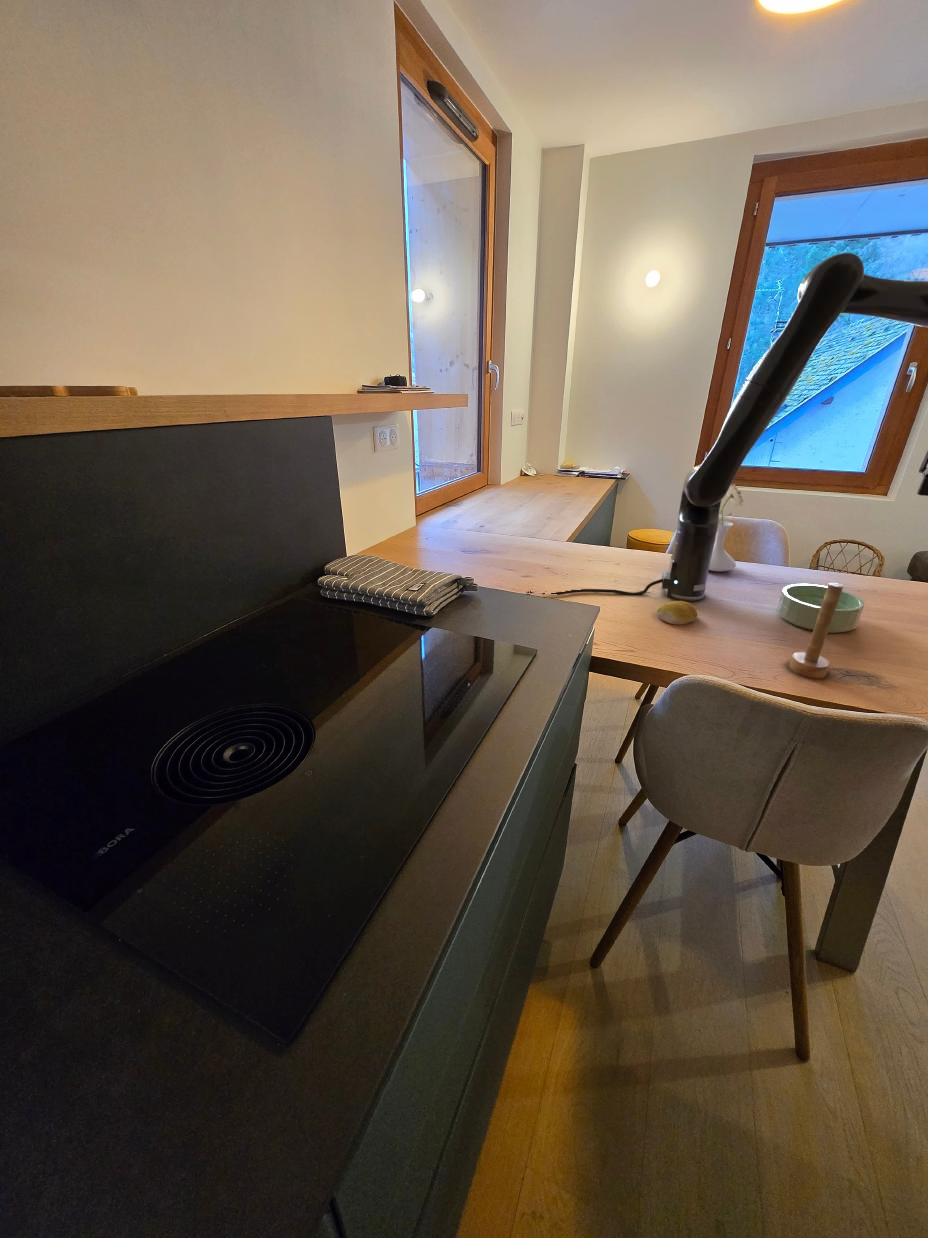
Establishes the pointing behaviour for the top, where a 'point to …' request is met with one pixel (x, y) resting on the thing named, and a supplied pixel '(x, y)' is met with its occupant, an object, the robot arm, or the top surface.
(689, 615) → the bread roll
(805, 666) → the wooden plunger
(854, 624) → the bowl
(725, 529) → the flower in vase
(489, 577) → the top surface
